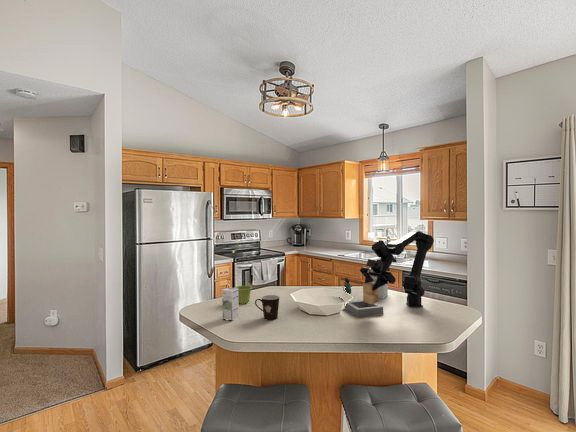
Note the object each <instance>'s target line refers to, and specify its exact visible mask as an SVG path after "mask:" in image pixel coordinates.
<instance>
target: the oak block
mask: <svg viewBox="0 0 576 432" xmlns="http://www.w3.org/2000/svg"><path fill="white" fill-rule="evenodd" d="M374 284H375V283H372V282H368V283H365V282H363V283H362V300H363V302H365V303H368V304H375V303H376V304H379V298H378V288H377V289H376V290H374V291H373V290H372V288H373V286H374Z"/></svg>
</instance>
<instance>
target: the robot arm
mask: <svg viewBox="0 0 576 432" xmlns="http://www.w3.org/2000/svg"><path fill="white" fill-rule="evenodd" d="M434 241H435V240H434V237H433V236H432V235H431V234H427V233H424V232H422V231H420V230H411V231H409V233H407V234H406V235H404V236H402V237H401V238H399V239H398V240H394V241H389V242H388V243H385V242H384V240H380V239H379V240H378V241H377V242H374V244H373V243H372V245H371V250H372V251H373V253H374V254H375V255H376V256H377V257H378V258H380V259H370V258H367V261H366V266H367V267H366V266H362V267H361V268H360V269H359V272H360V273H361V274H362V275H363V277H365V278H364V283H368V282H373V281H374V280H373V278H372V277H373V276H376V277H377V280H376V282H375V284H374V286H373V288H372V290H373V291H374V290H376V289H377V288H379V287H381V286H383V285H385V284H391V285H394V284H395V282H396V281H397V280H396V277H395V276H394V274H393V273H392V272H390V270H391V269H390V266H392V263H397V259H396V258H397V257H396V256H399V255H401V254H402V253H403V252H404V250H405V248H406V247H407V246H409V245H411V244H412V243H413V242H415V245H416V252H415V255H414V259H413V263H412V266H411V268H410V269H411V270H410V274H408V275H405V276H404V279H403V281H402V283H403V284H402V286H403V289H404V293H405V294H407V296H406V303H405V304H406V305H408V307H411V308H422V307H424V305H422V297H423V296H425V290H424V288H423V286H422V280H421V274H422V271H423V267H424V263H425V260H426V255H427V253H428V251H429V250H430V249H431V248H432V247H433V244H434ZM369 268H371V270H373V272H372V271H370V269H369ZM387 271H388V272H387Z"/></svg>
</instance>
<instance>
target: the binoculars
mask: <svg viewBox="0 0 576 432" xmlns="http://www.w3.org/2000/svg"><path fill="white" fill-rule="evenodd" d="M343 282H344V283H343V284H344V286H343V288H344V287H346V288H345V290H346V291H345V290H344V291H345V293H346V292H347V293H349V294H351V295H352V288H351V287H353V285H351V282H350V279H349V277H344V281H343Z"/></svg>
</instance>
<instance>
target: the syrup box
mask: <svg viewBox="0 0 576 432" xmlns="http://www.w3.org/2000/svg"><path fill="white" fill-rule="evenodd" d="M221 294H222V295H221V296H222V320H223V319H228V320H234V319H236V318H238V317H240V312H239V310H240V308H239V307H240V306H239V303H238V288H235V287H226V288H224V289H223V288H222V289H221ZM238 319H239V318H238ZM228 320H227V321H228ZM236 320H237V319H236ZM234 321H235V320H234Z"/></svg>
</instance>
